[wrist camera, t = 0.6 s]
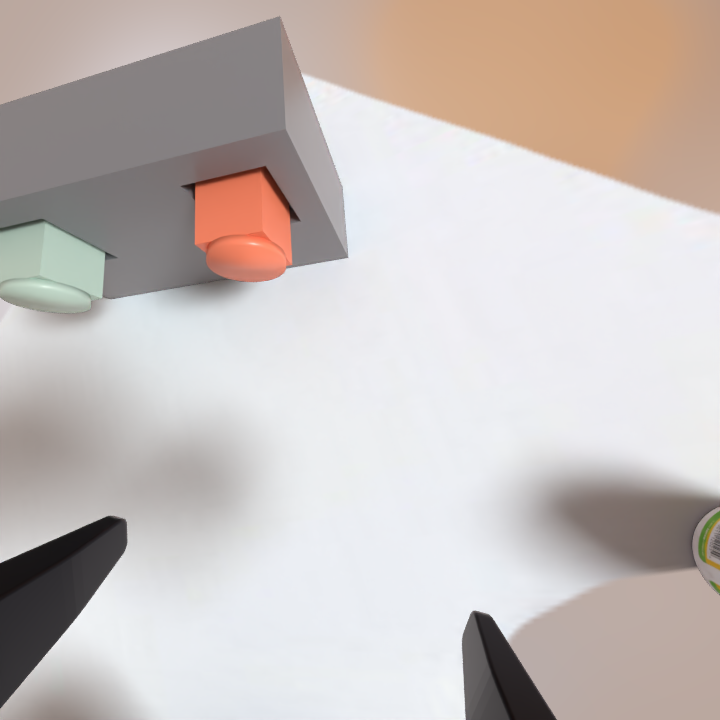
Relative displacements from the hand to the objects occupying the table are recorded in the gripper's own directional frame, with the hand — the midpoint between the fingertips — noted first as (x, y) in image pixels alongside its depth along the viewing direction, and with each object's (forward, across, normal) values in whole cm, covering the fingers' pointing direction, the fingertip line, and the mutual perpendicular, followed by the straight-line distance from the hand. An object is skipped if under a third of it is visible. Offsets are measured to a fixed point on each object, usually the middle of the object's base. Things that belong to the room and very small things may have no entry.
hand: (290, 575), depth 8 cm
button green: (+14, +20, -3) cm, 24 cm away
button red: (+14, +7, -7) cm, 17 cm away
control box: (+21, +14, -7) cm, 26 cm away
